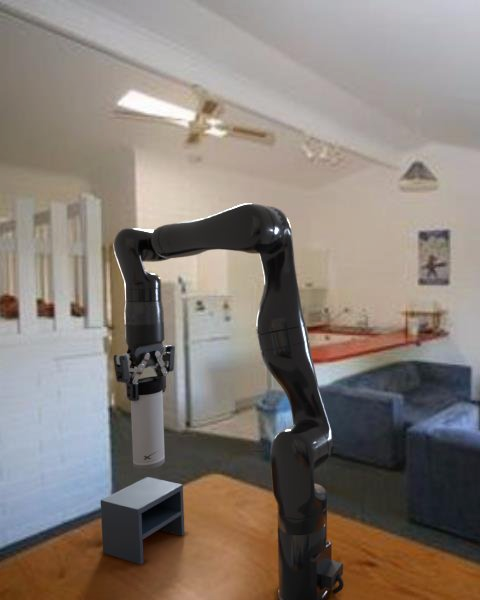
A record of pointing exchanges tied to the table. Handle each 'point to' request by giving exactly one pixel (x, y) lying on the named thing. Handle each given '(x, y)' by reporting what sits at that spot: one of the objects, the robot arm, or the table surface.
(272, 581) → the table surface
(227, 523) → the table surface
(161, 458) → the travel mug
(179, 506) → the shelf
